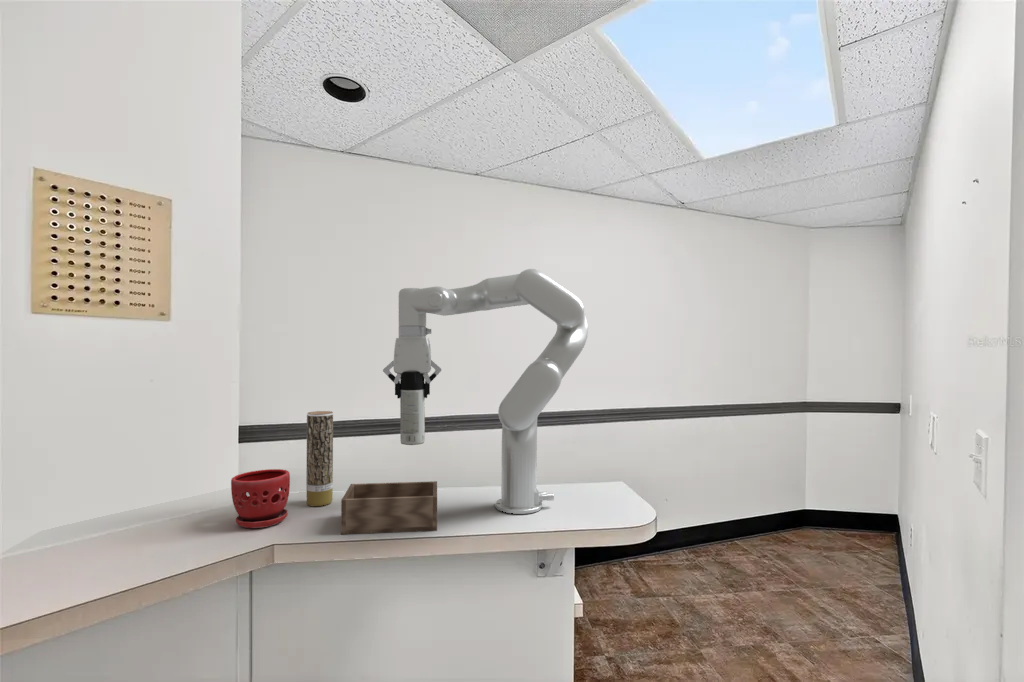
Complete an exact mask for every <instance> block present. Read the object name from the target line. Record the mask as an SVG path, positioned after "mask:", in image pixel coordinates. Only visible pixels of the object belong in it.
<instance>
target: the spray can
mask: <svg viewBox="0 0 1024 682" xmlns="http://www.w3.org/2000/svg"><path fill="white" fill-rule="evenodd" d="M399 381H400V398H399V401H400V404H399V406H400V410H399V411H400V412H399V413H400V414H399V415H400V427H399V428H400V430H399V431H400V444H401V445H407V446H416V445H417V446H418V445H422V444H424V443H425V440H426V432H425V431H426V429H425V427H426V426H425V425H426V423H425V421H426V419H425V418H426V417H425V416H426V415H425V414H426V413H425V412H426V411H425V410H426V409H425V408H426V407H425V404H426V403H425V399H426V398H424V384H425V378H424V376H423V374H421V373H420V372H403V373H402V374H401V378H400V380H399Z"/></svg>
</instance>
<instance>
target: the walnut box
mask: <svg viewBox="0 0 1024 682" xmlns="http://www.w3.org/2000/svg"><path fill="white" fill-rule="evenodd" d="M340 504H341V505H340V506H341V509H340V511H341V512H340V515H341V516H340V517H341V518H340V521H341V522H340V535H346V536H347V535H361V534H362V535H363V534H364V535H365V534H385V533H386V534H387V533H389V534H390V533H406V532H407V533H412V532H435V531H438V481H436V480H433V481H405V482H403V481H401V482H373V483H372V482H370V483H367V482H366V483H351V484H349V486H348V488H347V490H346V492H345V494H344V495H343V497H342V498H341V502H340Z"/></svg>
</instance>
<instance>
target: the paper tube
mask: <svg viewBox="0 0 1024 682" xmlns="http://www.w3.org/2000/svg"><path fill="white" fill-rule="evenodd" d="M333 463H334V412H333V411H331V410H327V411H326V410H317V411H310V412H307V413H306V487H305V488H306V504H307V506H310V507H323V505H324V506H328V505H330V504H331V503H332V502H333V499H334V498H333V496H334V495H333V491H334V490H333V489H334V488H333V487H334V486H333V485H334V483H333V482H334V480H333V478H334V477H333V475H334V473H333V472H334V471H333V470H334V468H333V466H334V464H333ZM327 504H328V505H327Z"/></svg>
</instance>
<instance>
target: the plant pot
mask: <svg viewBox="0 0 1024 682" xmlns="http://www.w3.org/2000/svg"><path fill="white" fill-rule="evenodd" d="M290 485H291V474H290V471H288V470H286V469H279V468H278V469H277V468H274V469H273V468H271V469H270V468H269V469H260V470H258V469H257V470H253V471H252V470H251V471H248V472H244V473H243V472H242V473H239V474H236V475H235V476H233V477H232V478H231V480H230V488H231V489H230V491H231V492H230V493H231V498H232V503H233V506H234V509H235V511H236V513H237V514H238V515H237V516H236V518H235V522H236V524H237V525H238V526H240V527H241V528H245V529H260V528H267V527H271V526H276V525H277V524H281V522H283V521H284V520H285V519H286V518H287V516H288V515H289V511H288V510H287V509H286V506H287V504H288V500H289V496H290V487H291V486H290ZM247 493H248V495H247Z"/></svg>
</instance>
